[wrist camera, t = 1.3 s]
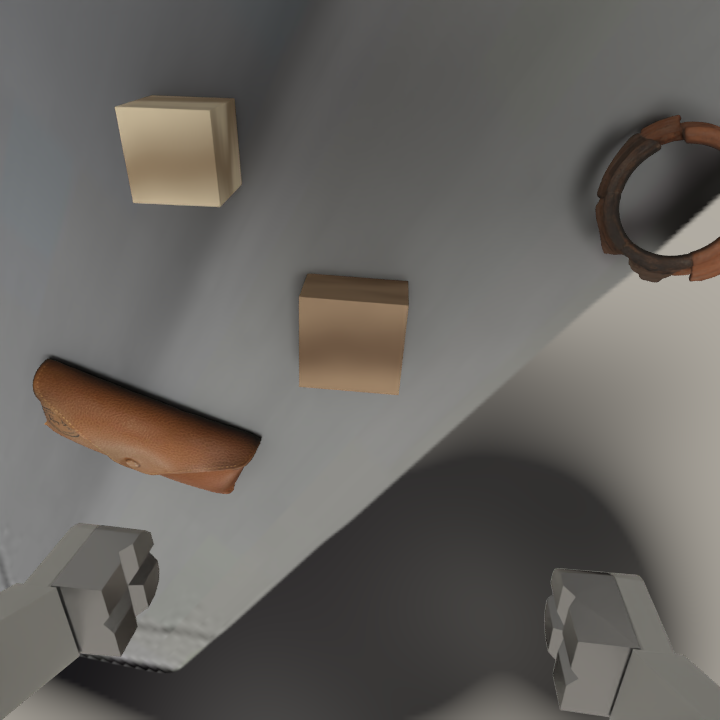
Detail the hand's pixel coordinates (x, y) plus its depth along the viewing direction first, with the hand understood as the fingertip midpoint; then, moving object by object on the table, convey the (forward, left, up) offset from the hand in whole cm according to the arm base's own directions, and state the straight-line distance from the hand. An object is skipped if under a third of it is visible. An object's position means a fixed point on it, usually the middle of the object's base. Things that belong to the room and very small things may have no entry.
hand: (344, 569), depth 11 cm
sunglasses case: (+21, -19, -29) cm, 40 cm away
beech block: (-3, -12, -28) cm, 30 cm away
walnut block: (+9, -2, -28) cm, 30 cm away
